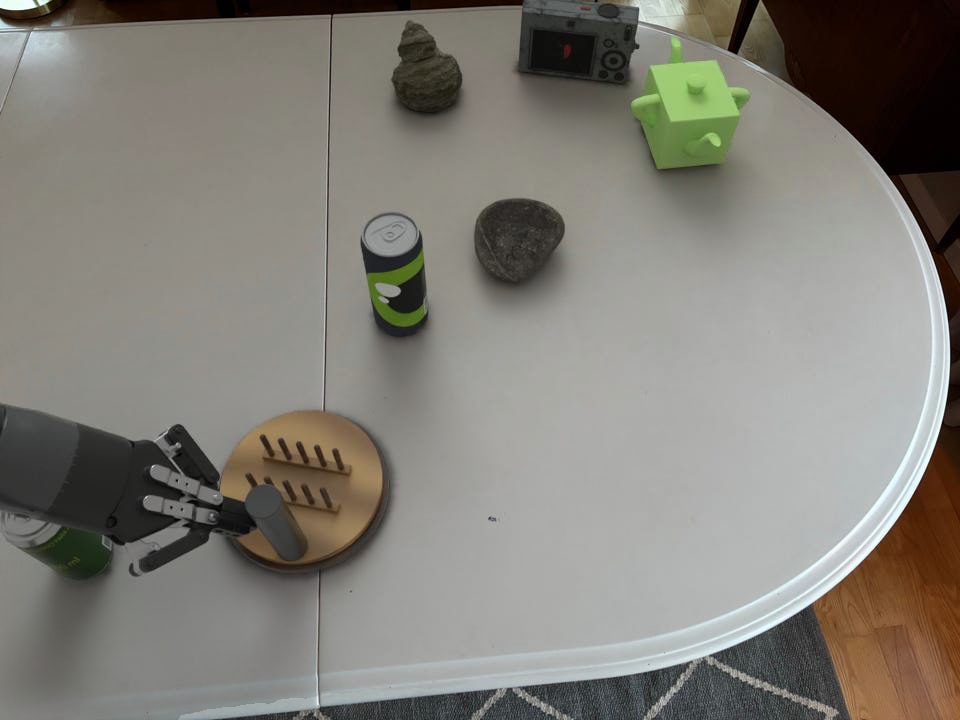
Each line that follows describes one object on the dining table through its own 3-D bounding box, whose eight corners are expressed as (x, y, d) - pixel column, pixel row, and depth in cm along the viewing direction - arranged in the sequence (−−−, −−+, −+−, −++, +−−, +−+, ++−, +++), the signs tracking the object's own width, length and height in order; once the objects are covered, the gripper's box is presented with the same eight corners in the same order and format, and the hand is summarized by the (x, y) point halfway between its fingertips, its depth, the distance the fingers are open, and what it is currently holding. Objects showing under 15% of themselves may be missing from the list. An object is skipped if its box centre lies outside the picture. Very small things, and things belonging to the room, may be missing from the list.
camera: (634, 67, 114) (647, 5, 105) (632, 86, 112) (645, 24, 103) (521, 54, 115) (525, -9, 106) (517, 72, 113) (521, 10, 104)
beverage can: (400, 285, 94) (389, 199, 81) (439, 314, 92) (434, 230, 79) (363, 318, 91) (345, 235, 78) (402, 349, 89) (391, 268, 76)
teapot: (658, 92, 111) (675, 26, 102) (746, 130, 107) (772, 65, 98) (606, 158, 104) (619, 94, 95) (699, 201, 101) (721, 138, 92)
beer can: (103, 517, 79) (47, 471, 69) (125, 561, 77) (71, 519, 66) (50, 548, 77) (-15, 505, 67) (71, 593, 75) (7, 556, 65)
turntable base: (239, 599, 75) (236, 596, 74) (207, 444, 83) (203, 440, 82) (410, 539, 78) (409, 535, 77) (363, 396, 86) (362, 390, 85)
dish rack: (358, 580, 75) (338, 535, 63) (198, 546, 76) (149, 497, 65) (400, 429, 83) (389, 366, 71) (254, 402, 84) (220, 335, 73)
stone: (561, 293, 93) (566, 268, 89) (471, 289, 93) (471, 263, 89) (561, 220, 99) (565, 192, 95) (476, 216, 99) (476, 188, 95)
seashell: (466, 20, 109) (394, 16, 109) (464, 26, 99) (384, 22, 98) (464, 105, 114) (394, 102, 114) (461, 119, 104) (385, 116, 103)
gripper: (44, 545, 53) (267, 591, 64) (92, 372, 60) (286, 441, 70) (3, 567, 57) (218, 607, 68) (52, 404, 64) (241, 464, 75)
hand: (252, 523), depth 69 cm, fingers closed
